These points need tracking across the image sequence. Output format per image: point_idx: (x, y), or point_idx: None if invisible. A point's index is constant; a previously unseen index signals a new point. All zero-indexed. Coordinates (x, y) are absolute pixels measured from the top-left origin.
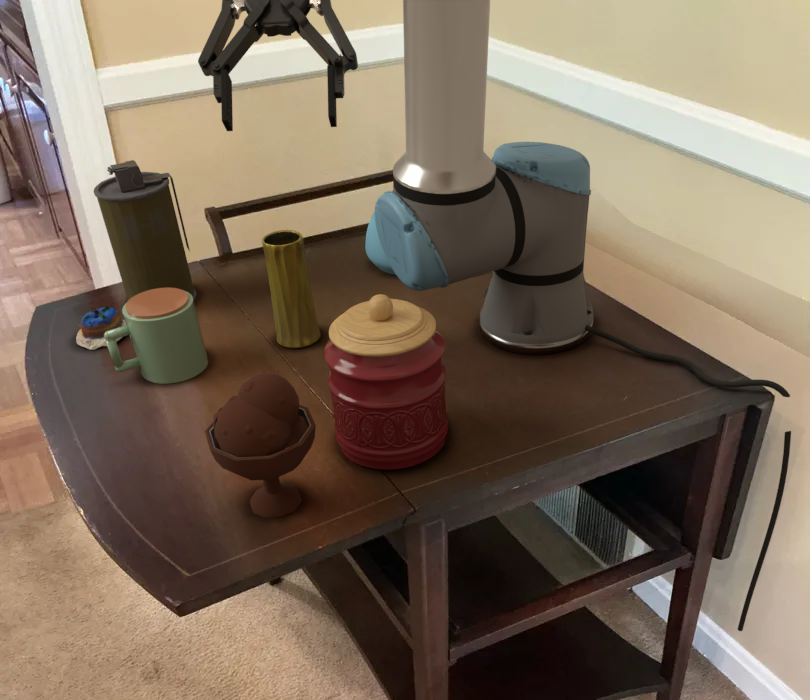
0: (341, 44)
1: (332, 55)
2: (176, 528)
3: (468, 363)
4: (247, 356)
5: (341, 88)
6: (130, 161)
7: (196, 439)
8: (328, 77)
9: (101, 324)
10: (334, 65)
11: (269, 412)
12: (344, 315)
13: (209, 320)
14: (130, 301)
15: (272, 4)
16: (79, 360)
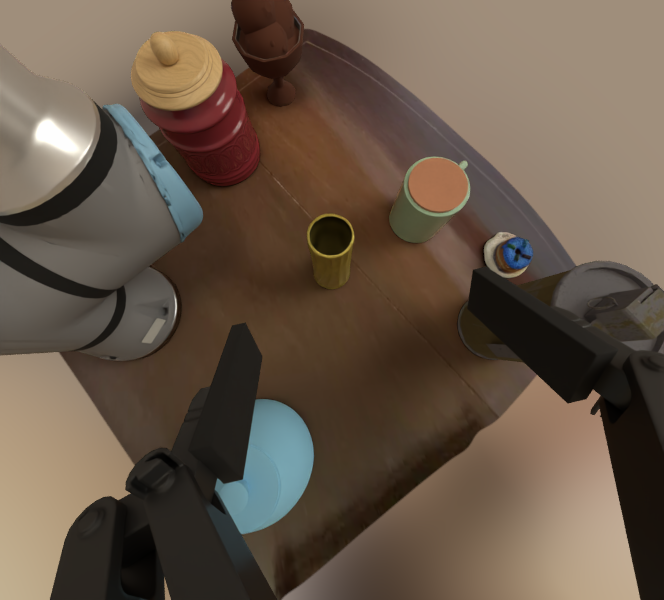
0: (102, 586)
1: (175, 501)
2: (328, 68)
3: (186, 250)
4: (363, 239)
5: (197, 399)
6: (655, 330)
7: (354, 138)
8: (219, 404)
9: (506, 242)
10: (190, 468)
11: None
12: (203, 57)
13: (423, 293)
14: (464, 180)
15: None
16: (499, 217)
